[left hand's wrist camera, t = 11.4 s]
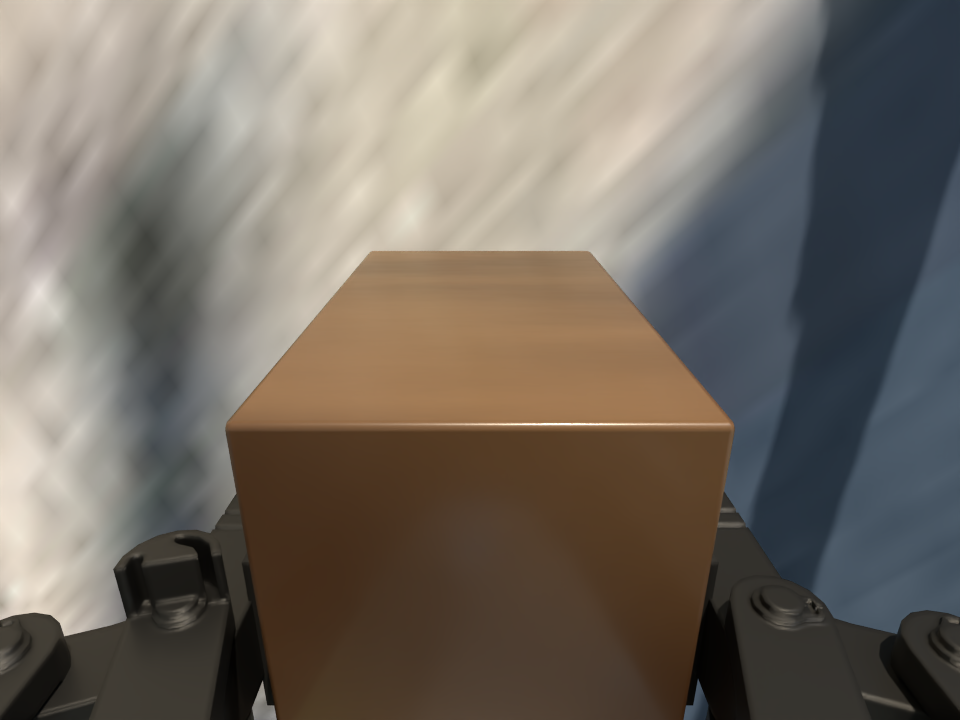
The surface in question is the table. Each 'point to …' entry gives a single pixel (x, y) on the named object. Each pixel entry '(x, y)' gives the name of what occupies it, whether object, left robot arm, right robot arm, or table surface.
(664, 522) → the bar
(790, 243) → the table surface
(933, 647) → the left robot arm
